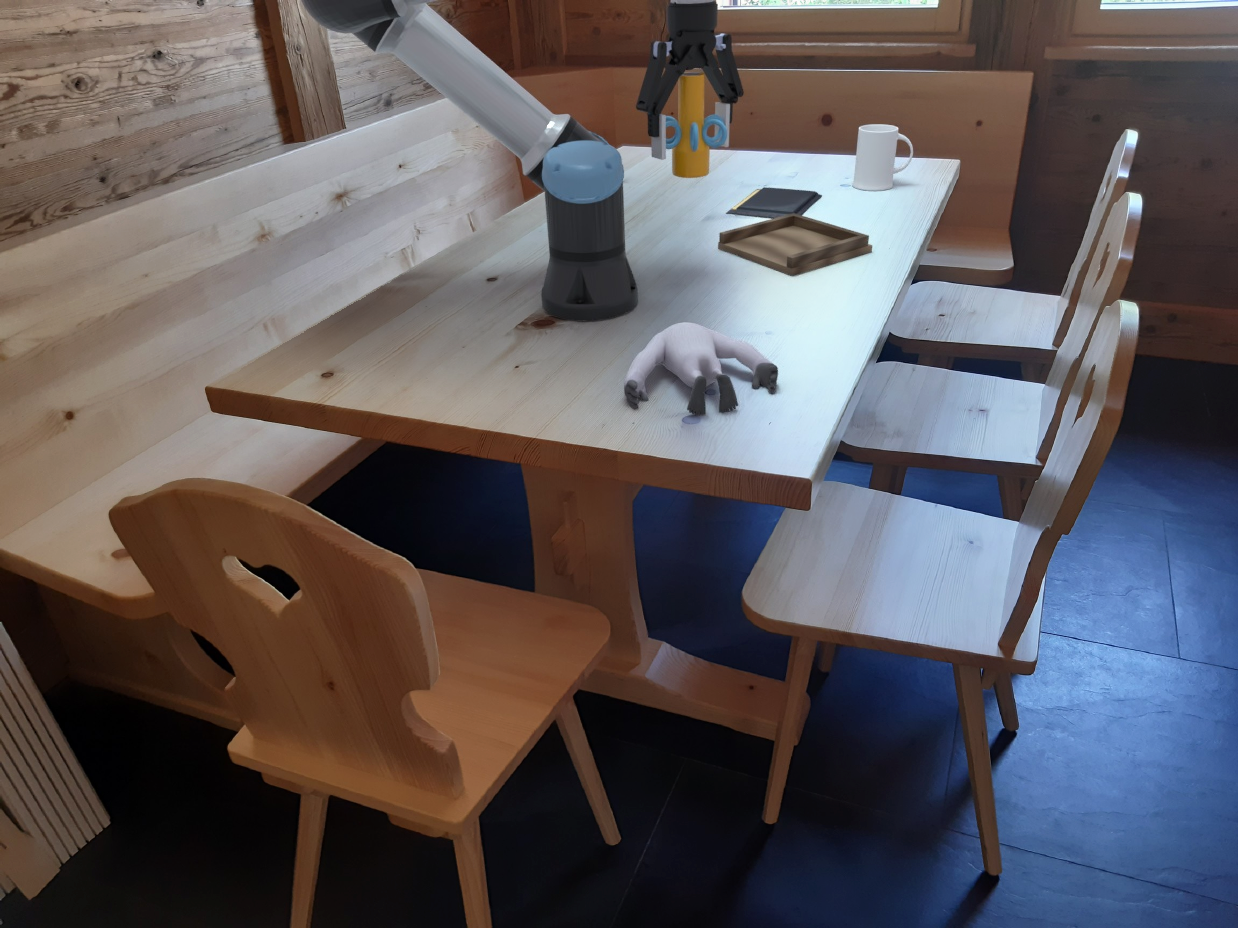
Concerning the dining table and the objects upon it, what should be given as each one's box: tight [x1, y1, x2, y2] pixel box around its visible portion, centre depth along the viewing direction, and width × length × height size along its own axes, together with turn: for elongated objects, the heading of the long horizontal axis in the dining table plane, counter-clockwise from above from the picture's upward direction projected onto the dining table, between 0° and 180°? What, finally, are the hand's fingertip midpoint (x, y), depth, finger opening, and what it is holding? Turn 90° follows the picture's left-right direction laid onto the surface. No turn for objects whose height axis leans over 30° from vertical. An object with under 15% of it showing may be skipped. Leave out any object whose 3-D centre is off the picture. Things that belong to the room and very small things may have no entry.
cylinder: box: [666, 71, 727, 179], centre depth 143 cm, size 12×10×15 cm
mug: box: [851, 123, 914, 192], centre depth 193 cm, size 12×8×12 cm
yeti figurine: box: [623, 321, 779, 417], centre depth 118 cm, size 20×7×20 cm
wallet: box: [725, 186, 823, 220], centre depth 187 cm, size 20×2×15 cm
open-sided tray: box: [717, 213, 873, 277], centre depth 161 cm, size 19×19×3 cm
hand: (690, 152), depth 145 cm, fingers closed on cylinder, 12 cm apart
